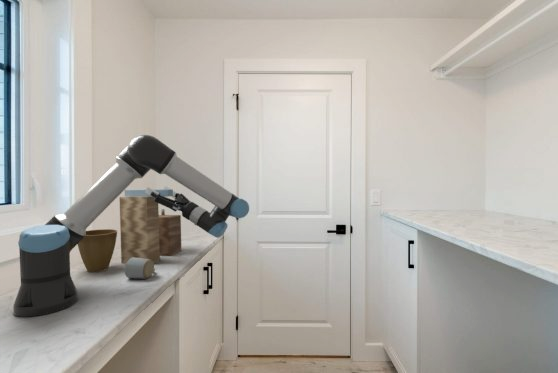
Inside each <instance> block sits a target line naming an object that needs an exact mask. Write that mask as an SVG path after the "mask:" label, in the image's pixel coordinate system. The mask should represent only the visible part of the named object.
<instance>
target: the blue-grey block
mask: <svg viewBox="0 0 558 373" xmlns="http://www.w3.org/2000/svg"><path fill="white" fill-rule="evenodd" d="M154 190H155V191H156V192H158V193H160V195H161V196H164V197H166V198H169V197H171V196H173V191H174V190H173V188H172V189H171V188H170V189H167V190H163V189H154ZM145 191H146V189H125V190H124V191H123V192H124V197H152V196H150V195H148V194H147V193H145Z"/></svg>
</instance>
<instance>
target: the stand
mask: <svg viewBox="0 0 558 373" xmlns="http://www.w3.org/2000/svg"><path fill="white" fill-rule="evenodd" d="M159 212H160V210H159V203H157V202H155V198H153V197H125V196H119V224H120V225H119V226H120V229H119V230H120V254H121V256H120V257H121V264H123V265H124V264H125V265H126V263H127V261H128V260H129V259H130V258H132V257H135V258H143V259H149V260H152V261H153V263H154V264H155V263H156V262H158V261H160V260H161V256H160V249H159V215H160V214H159Z"/></svg>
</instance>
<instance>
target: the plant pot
mask: <svg viewBox="0 0 558 373" xmlns="http://www.w3.org/2000/svg"><path fill="white" fill-rule="evenodd" d="M117 237H118V230H117V229H111V228H109V229H108V228H107V229H105V228H103V229H90V230H86V236H85V237H84V238H83V239H82V240H81V241H80V242H79V243H78V244H77V247H78V251H79V254H80V257H81V260H82V262H83V265H84V267H85V270H87V272H88V273H99V272H103V271H106V270H107V269H109V267H110V264H111V261H112V258H113V254H114V251H115V246H116V242H117Z"/></svg>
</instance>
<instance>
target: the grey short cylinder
mask: <svg viewBox="0 0 558 373" xmlns="http://www.w3.org/2000/svg"><path fill="white" fill-rule="evenodd" d="M155 270H156V269H155V262H154V263H153V261H152V260H149V259H143V258H135V257H132V258H130V259H129V260H128V261H127V263H126V264H125V268H124V275H125V277H127V278H128V279H143V280H144V279H149V278H150V277H152V275H153V274H154V273H155Z"/></svg>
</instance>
